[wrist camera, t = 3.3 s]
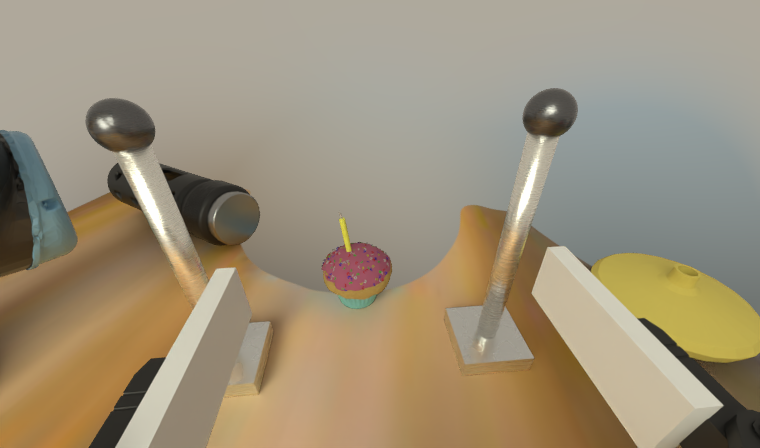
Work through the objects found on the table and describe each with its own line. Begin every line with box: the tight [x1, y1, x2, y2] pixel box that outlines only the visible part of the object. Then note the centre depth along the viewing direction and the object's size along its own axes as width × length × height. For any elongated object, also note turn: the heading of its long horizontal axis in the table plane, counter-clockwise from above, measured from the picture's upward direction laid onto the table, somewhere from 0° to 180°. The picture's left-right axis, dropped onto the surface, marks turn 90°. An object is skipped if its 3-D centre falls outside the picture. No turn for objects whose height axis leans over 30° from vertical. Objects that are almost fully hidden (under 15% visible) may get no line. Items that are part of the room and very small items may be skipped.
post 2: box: [444, 88, 578, 376], centre depth 26 cm, size 7×7×26 cm
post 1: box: [86, 98, 274, 398], centre depth 25 cm, size 7×7×26 cm
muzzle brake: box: [108, 163, 260, 245], centre depth 51 cm, size 10×28×10 cm, turn 61°
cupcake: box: [322, 212, 392, 309], centre depth 36 cm, size 9×8×12 cm
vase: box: [591, 253, 760, 363], centre depth 35 cm, size 16×16×7 cm
